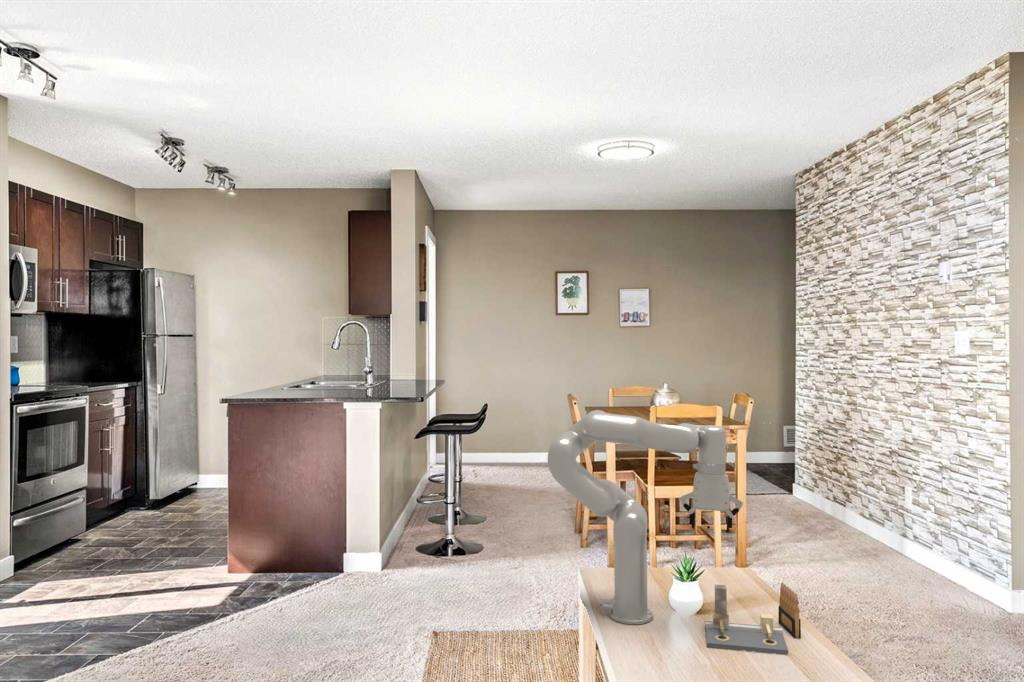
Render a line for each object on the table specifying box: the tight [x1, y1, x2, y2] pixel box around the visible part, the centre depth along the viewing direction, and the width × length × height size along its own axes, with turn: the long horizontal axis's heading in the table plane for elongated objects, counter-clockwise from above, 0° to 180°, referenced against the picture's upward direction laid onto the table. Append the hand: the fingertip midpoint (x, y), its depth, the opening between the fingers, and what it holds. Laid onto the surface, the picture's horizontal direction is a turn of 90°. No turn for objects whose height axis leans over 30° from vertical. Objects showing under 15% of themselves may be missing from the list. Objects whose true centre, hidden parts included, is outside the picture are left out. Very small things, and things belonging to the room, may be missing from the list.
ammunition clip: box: [777, 581, 802, 639], centre depth 192 cm, size 11×2×12 cm, turn 1°
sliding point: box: [712, 584, 730, 636], centre depth 188 cm, size 4×9×10 cm, turn 166°
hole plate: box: [705, 612, 789, 655], centre depth 186 cm, size 20×15×6 cm
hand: (710, 528), depth 198 cm, fingers open, 9 cm apart
